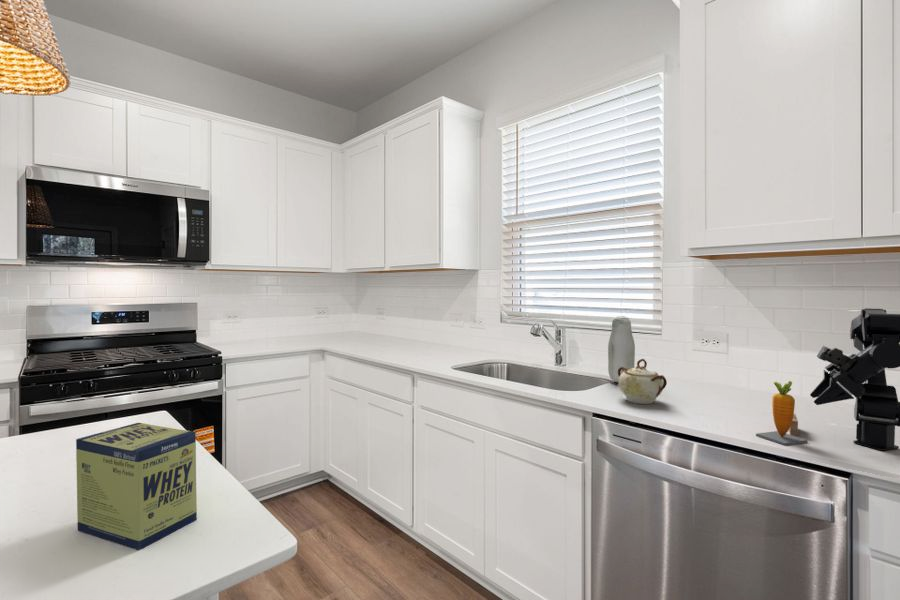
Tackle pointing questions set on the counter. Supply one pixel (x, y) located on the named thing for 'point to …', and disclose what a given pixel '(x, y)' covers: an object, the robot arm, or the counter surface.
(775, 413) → the carrot
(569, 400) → the counter surface
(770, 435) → the charcoal mat
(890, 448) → the robot arm
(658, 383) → the sugar bowl
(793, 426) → the walnut block
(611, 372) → the grey bottle
